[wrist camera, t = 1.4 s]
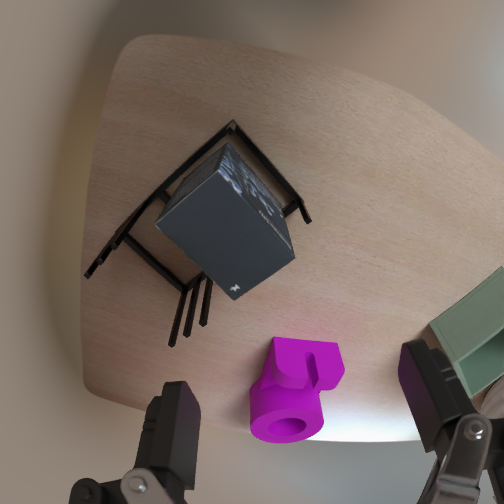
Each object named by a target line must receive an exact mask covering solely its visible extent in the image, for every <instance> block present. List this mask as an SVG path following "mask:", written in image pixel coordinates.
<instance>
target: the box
mask: <svg viewBox="0 0 504 504" xmlns="http://www.w3.org/2000/svg"><path fill="white" fill-rule="evenodd" d="M155 226H156V227H157V228H158V229H159V230H161V231H162V232H163V233H164V234H165V235H166V236H167V237H168V238H169V239H170V240H171V241H172V242H174V243H175V244H176V245H177V246H178V247H179V248H180V249H181V250H182V251H183V252H184V253H185V254H186V255H187V256H188V257H189V258H190V259H191V260H192V261H193V262H194V263H195V264H196V265H197V266H198V267H199V268H200V269H201V270H202V271H204V272H205V273H206V274H207V275H208V276H209V277H210V278H211V279H212V280H213V281H214V282H215V283H216V284H217V285H218V286H219V287H220V288H221V289H222V290H223V291H224V292H225V293H226V294H227V295H228V296H229V297H230V298H231V299H232V300H236V299H238V298H239V297H240V296H242V295H243V294H245V293H246V292H248V291H249V290H250V289H252V288H253V287H255V286H256V285H258V284H259V283H261V282H262V281H264V280H265V279H267V278H268V277H270V276H271V275H273V274H274V273H276V272H277V271H278V270H280V269H281V268H283V267H284V266H285V265H287V264H288V263H290V262H291V261H292V260H293V259H295V255H294V251H293V247H292V243H291V239H290V236H289V232H288V228H287V225H286V222H285V218H284V214H283V211H282V207H281V204H280V203H279V202H278V201H277V199H276V198H275V197H274V196H273V195H272V193H271V192H270V191H269V190H268V189H267V187H266V186H265V185H264V184H263V183H262V181H261V180H260V179H259V178H258V177H257V176H256V175H255V173H254V172H253V171H252V170H251V168H250V167H249V166H248V165H247V164H246V163H245V162H244V160H243V159H242V158H241V157H240V155H239V154H238V153H237V152H236V151H235V150H234V148H233V147H232V146H231V145H230V144H229V143H226V144H225V145H224V146H222V147H221V148H220V149H219V150H217V151H216V152H215V153H214V154H213V155H212V156H210V157H209V158H208V159H207V160H205V161H204V162H203V163H202V164H201V165H199V166H198V167H197V168H196V169H195V170H193V171H192V172H191V173H190V174H189V175H188V176H187V177H185V178H184V179H183V181H182V182H181V184H180V185H179V187H178V188H177V189H176V191H175V193H174V194H173V195H172V197H171V199H170V200H169V202H168V203H167V205H166V206H165V208H164V209H163V211H162V212H161V214H160V215H159V217H158V219H157V220H156V222H155Z"/></svg>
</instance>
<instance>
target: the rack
mask: <svg viewBox="0 0 504 504" xmlns="http://www.w3.org/2000/svg"><path fill="white" fill-rule="evenodd" d="M233 132H235V133H236V134H237V135H238V136H239V137H240V139H241V140H242V141H243V142H244V143H245V144H246V145H247V146H248V147H249V149H250V150H251V151H252V152H253V153H254V154H255V155H256V156H257V158H258V159H259V160H260V161H261V162H262V163H263V164H264V166H265V167H266V168H267V169H268V170H269V171H270V172H271V174H272V175H273V176H274V177H275V178H276V179H277V181H278V182H279V183H280V184H281V185H282V186H283V188H284V189H285V190H286V191H287V192H288V193H289V195H290V196H291V197H292V198H293V199H294V201H292V202H291V203H290V204H288V205H287V206H286V207H284V208H283V209H282V211H283V214H284V218H285V217H287V216H288V215H289V214H291V213H292V212H293V211H295V210H296V209H297V208H298V207H299V209H300V212H301V214H302V217H303V219H304V221H305V222H306V224H309V223H310V222H312V220H311V217H310V215H309V213H308V211H307V209H306V206H305V204H304V201H303V199H302V198H301V197H300V195H299V194H298V193H297V192H296V191H295V189H294V188H293V187H292V186H291V185H290V183H289V182H288V181H287V180H286V179H285V177H284V176H283V175H282V174H281V173H280V172H279V170H278V169H277V168H276V167H275V166H274V164H273V163H272V162H271V161H270V160H269V159H268V158H267V156H266V155H265V154H264V153H263V152H262V151H261V150H260V148H259V147H258V146H257V145H256V144H255V143H254V142H253V140H252V139H251V138H250V137H249V136H248V135H247V134H246V133H245V131H244V130H243V129H242V128H241V127H240V126H239V125H238V124H237V123H236V122H235V120H234V119H233V120H231V121H230V122H229V123H228V124H227V125H225V126H224V127H223V128H222V129H221V130H220V131H218V132H217V133H216V134H215V135H214V136H213V137H212V138H210V139H209V140H208V141H207V142H206V143H205V144H204V145H203V146H201V147H200V148H199V149H198V150H197V151H196V152H195V153H194V154H193V155H191V156H190V157H189V158H188V159H187V160H186V161H185V162H184V163H183V164H182V165H181V166H180V167H179V168H177V169H176V170H175V171H174V172H173V173H172V174H171V175H170V176H169V177H168V178H167V179H166V180H165V181H164V182H163V183H162V184H161V185H160V186H159V187H158V188H157V189H156V190H155V191H154V192H153V193H152V194H151V195H150V196H149V197H148V198H147V199H146V200H145V201H144V202H143V203H142V204H141V205H140V206H139V207H138V208H137V209H136V210H135V211H134V212H133V213H132V214H131V215H130V216H129V217H128V218H127V219H126V220H125V221H124V222H123V224H122V225H121V226H120V227H119V228H118V229H117V230H116V231H115V234H114V235H113V236H112V238H111V239H110V240H109V242H108V243H107V244H106V246H105V247H104V248H103V249H102V251H101V252H100V254H99V255H98V256H97V258H96V259H95V260H94V262H93V263H92V264H91V266H90V267H89V269H88V270H87V271H86V273H85V274H84V276H85V277H86V278H87V279H89V278H90V277H91V275H92V274H93V272H94V271H95V270H96V268H97V267H98V265H102V264H103V263H104V261H105V260H106V258H107V257H108V255H109V254H110V252H111V251H112V250H116V249H117V248H118V246H119V245H120V244H121V242H122V241H125V242H126V243H127V244H128V245H129V246H130V247H131V248H132V249H133V250H134V251H135V252H136V253H137V254H139V255H140V256H141V257H142V258H143V259H144V260H145V261H146V262H147V263H148V264H149V265H151V266H152V267H153V268H154V269H155V270H156V271H157V272H158V273H159V274H161V275H162V276H163V277H164V278H165V279H166V280H167V281H168V282H170V283H171V284H172V285H173V286H174V287H175V288H176V289H178V290H179V291H180V292H181V296H180V300H179V304H178V307H177V311H176V315H175V319H174V323H173V326H172V330H171V334H170V338H169V342H168V345H169V346H170V347H171V348H172V347H174V346H175V344H176V339H177V335H178V331H179V326H180V322H181V318H182V314H183V310H184V305H185V301H186V297H187V293H188V291H190V290H191V289H192V288H193V291H192V295H191V299H190V304H189V308H188V313H187V317H186V322H185V326H184V331H183V336H185V337H186V338H187V337H189V336H190V335H191V329H192V324H193V319H194V314H195V309H196V304H197V299H198V294H199V289H200V284H201V281H203V280H204V279H205V278H207V280H206V286H205V292H204V297H203V303H202V309H201V314H200V320H199V324H200V325H201V326H202V327H204V326H205V325H207V320H208V313H209V306H210V299H211V293H212V286H213V280H212V279H211V278H210V277H209V276H208V275H207V274H206V273H205V272H204V271H202V272H201V273H199V274H198V275H197V276H195V277H194V278H193V279H192V280H190V281H189V282H188V283H187V284H185V285H184V284H183V283H182V282H181V281H180V280H178V279H177V278H176V277H175V276H174V275H173V274H172V273H171V272H170V271H168V270H167V269H166V268H165V267H164V266H163V265H162V264H161V263H160V262H159V261H157V260H156V259H155V258H154V257H153V256H152V255H151V254H150V253H149V252H148V251H147V250H146V249H144V248H143V247H142V246H141V245H140V244H139V243H138V242H137V241H136V240H135V239H134V238H133V237H132V236H131V235H130V234H129V233H128V232H129V231H130V229H131V228H132V227H133V225H134V224H135V222H136V221H137V220H138V218H139V217H140V216H141V214H142V213H143V211H144V210H145V209H146V208H147V207H148V206H149V205H150V204H151V203H152V202H153V201H154V200H155V199H156V198H157V197H159V198H160V199H161V200H162V201H163V202H164V203H165V204H166V205H167V203H168V202H169V200H170V199H171V196H170V195H169V194H168V193H167V192H166V191H165V189H166V188H167V187H168V186H169V185H170V184H172V183H173V182H174V181H175V180H176V179H177V178H178V177H179V176H180V175H181V174H182V173H183V172H184V171H185V170H187V169H188V168H189V167H190V166H191V165H192V164H193V163H194V162H195V161H196V160H197V159H199V158H200V157H201V156H202V155H203V154H204V153H205V152H206V151H208V150H209V149H210V148H211V147H212V146H213V145H214V144H216V143H217V142H218V141H219V140H220V139H221V138H222V137H224V136H225V135H226V134H227V133H228V134H229V135H231V134H232V133H233Z"/></svg>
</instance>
